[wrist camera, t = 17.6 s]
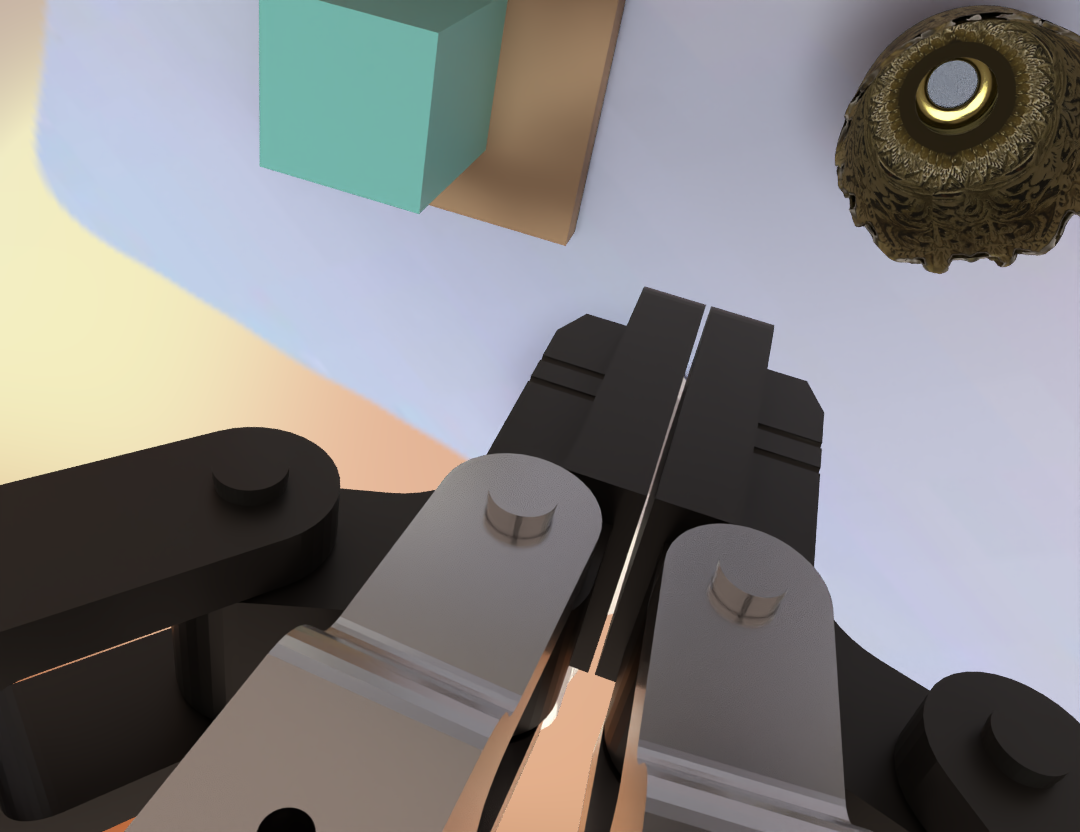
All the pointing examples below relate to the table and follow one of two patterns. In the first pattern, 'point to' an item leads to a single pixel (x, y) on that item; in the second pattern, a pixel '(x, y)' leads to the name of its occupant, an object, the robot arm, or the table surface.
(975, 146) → the bronze textured bowl
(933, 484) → the table surface
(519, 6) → the board
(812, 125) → the table surface
